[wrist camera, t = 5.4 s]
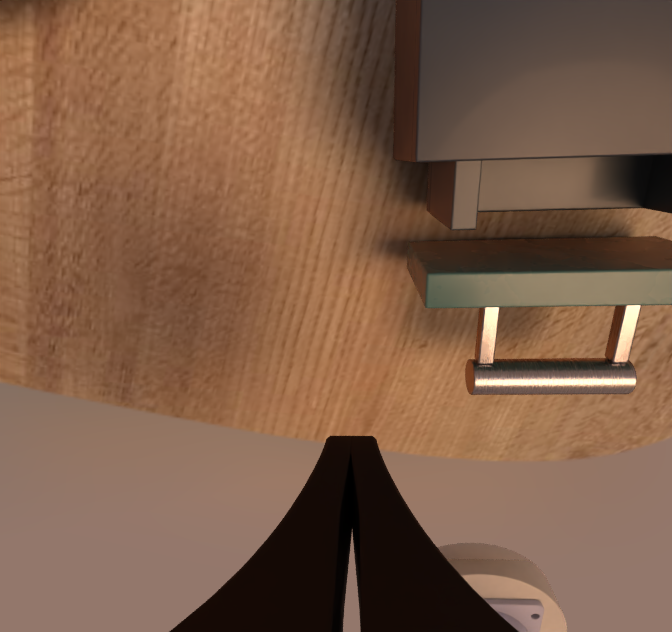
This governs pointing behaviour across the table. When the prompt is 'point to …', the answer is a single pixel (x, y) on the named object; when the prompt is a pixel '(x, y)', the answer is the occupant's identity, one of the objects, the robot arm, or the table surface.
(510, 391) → the drawer
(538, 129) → the dark grey storage box
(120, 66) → the table surface
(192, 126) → the table surface
